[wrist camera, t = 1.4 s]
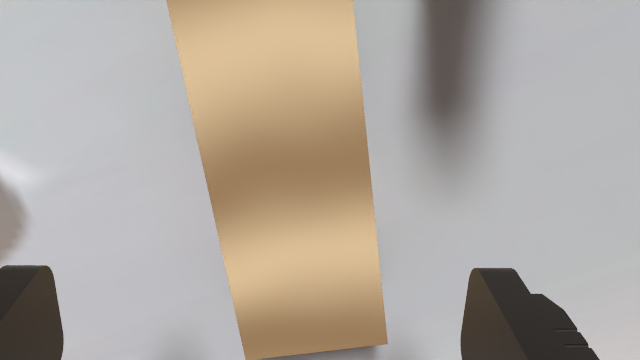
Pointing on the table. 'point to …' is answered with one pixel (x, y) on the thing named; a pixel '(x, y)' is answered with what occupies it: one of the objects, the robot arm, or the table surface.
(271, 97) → the shelf board
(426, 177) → the table surface
